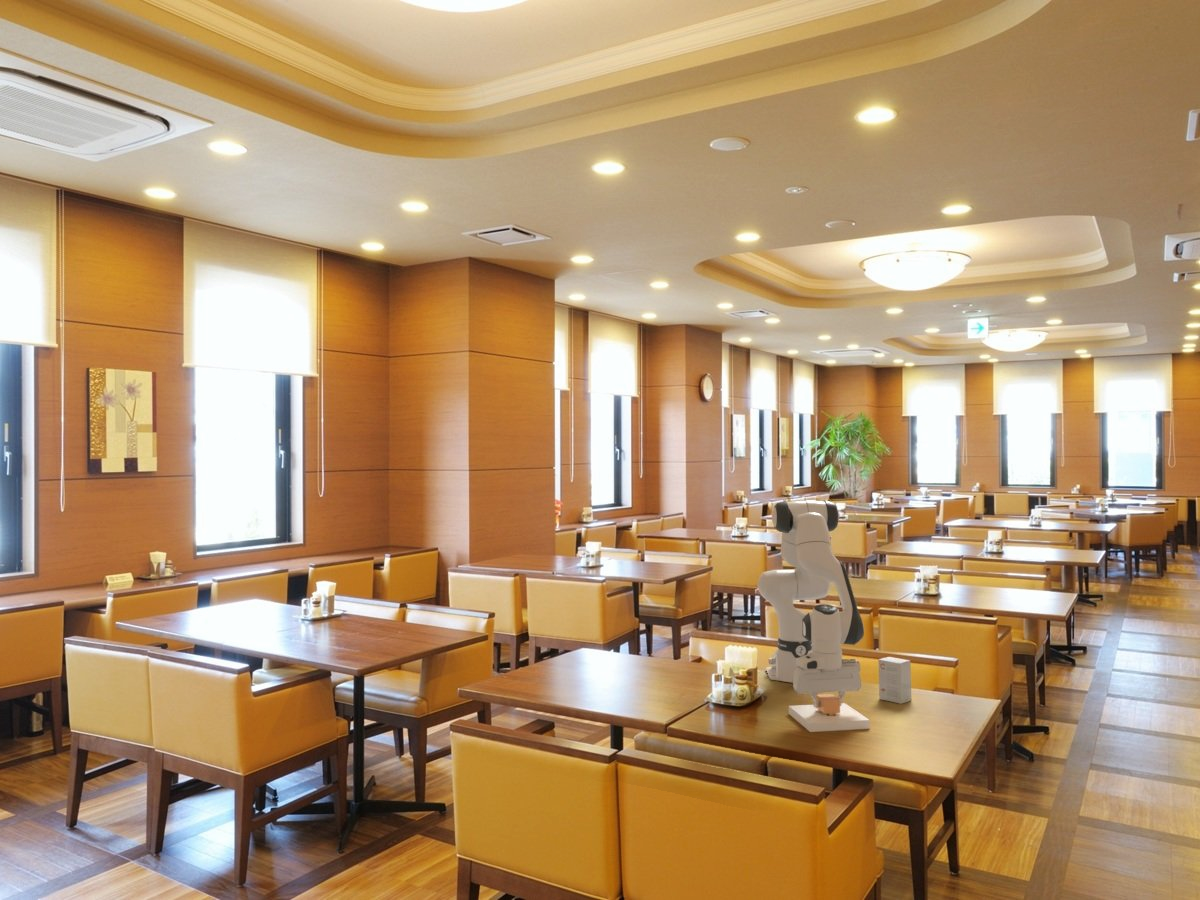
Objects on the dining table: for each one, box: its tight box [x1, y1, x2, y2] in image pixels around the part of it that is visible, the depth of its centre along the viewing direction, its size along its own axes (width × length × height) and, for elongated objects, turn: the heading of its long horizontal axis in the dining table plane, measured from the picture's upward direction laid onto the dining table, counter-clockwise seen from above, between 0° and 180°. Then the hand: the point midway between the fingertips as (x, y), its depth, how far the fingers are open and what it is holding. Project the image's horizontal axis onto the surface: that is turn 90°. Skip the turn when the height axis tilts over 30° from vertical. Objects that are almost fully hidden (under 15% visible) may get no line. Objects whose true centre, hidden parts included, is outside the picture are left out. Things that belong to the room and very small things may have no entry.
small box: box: [878, 656, 912, 705], centre depth 280 cm, size 8×6×13 cm
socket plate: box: [788, 702, 871, 733], centre depth 259 cm, size 18×18×3 cm
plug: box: [815, 693, 840, 716], centre depth 259 cm, size 6×5×6 cm
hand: (827, 706), depth 259 cm, fingers closed on plug, 5 cm apart
